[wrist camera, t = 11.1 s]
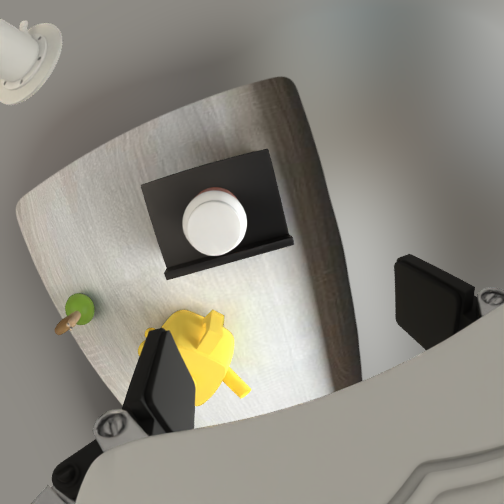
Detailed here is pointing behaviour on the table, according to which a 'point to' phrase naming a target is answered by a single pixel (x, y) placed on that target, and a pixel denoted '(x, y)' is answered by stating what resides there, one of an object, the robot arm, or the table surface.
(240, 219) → the pill bottle
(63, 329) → the snail figurine
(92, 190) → the table surface
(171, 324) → the teapot
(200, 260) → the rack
